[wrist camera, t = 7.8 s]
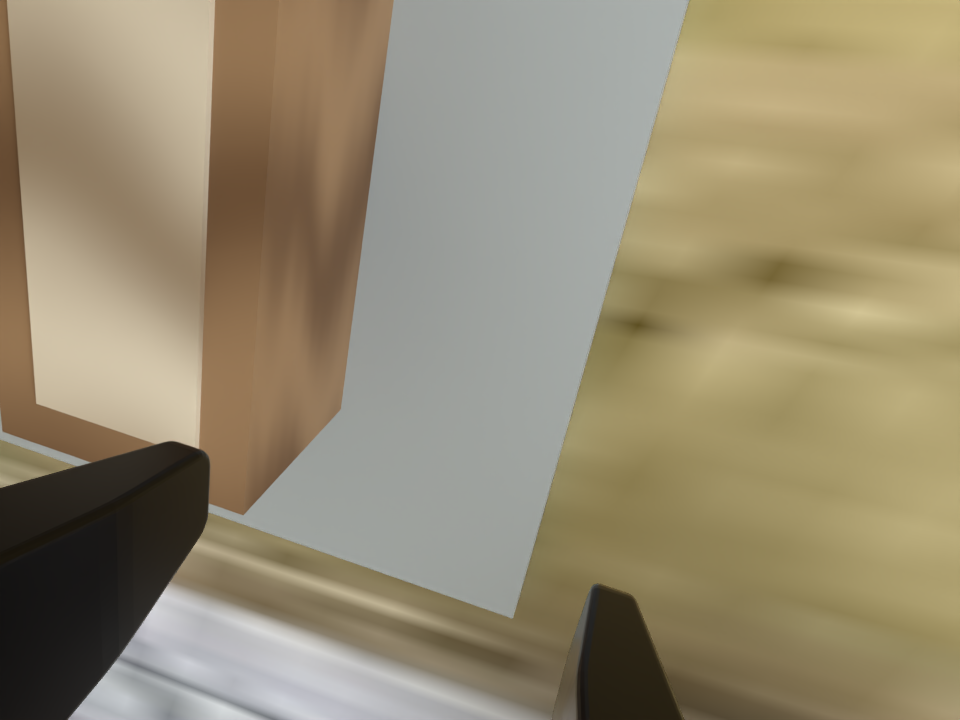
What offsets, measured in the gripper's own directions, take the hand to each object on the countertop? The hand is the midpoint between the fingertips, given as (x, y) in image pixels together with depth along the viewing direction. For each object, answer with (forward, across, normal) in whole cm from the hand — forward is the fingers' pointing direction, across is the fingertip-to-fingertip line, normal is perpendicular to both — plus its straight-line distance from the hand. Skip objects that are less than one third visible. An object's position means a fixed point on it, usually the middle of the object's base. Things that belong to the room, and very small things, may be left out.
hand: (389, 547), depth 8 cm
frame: (+11, +8, 0) cm, 14 cm away
